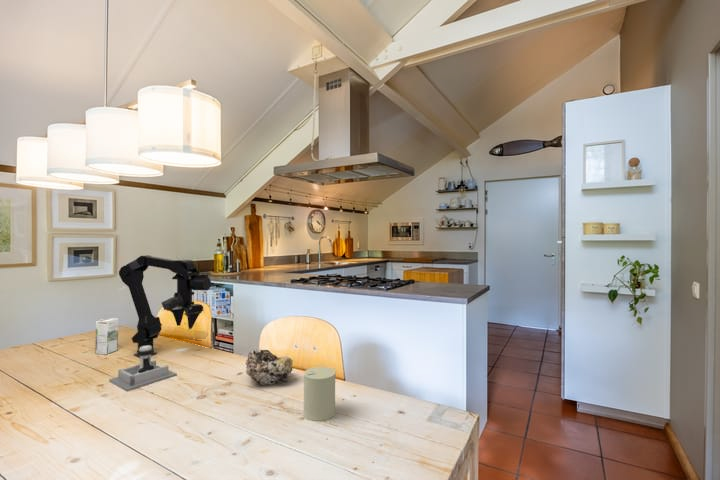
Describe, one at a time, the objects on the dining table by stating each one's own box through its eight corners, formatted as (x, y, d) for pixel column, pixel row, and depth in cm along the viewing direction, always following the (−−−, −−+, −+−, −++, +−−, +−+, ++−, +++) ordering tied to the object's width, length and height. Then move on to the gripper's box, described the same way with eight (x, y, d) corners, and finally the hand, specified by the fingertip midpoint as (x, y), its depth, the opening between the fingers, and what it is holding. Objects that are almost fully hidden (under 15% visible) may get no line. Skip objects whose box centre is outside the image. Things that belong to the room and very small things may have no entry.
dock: (109, 381, 117) (109, 370, 117) (157, 367, 130) (157, 357, 130) (127, 391, 109) (127, 380, 109) (176, 375, 123) (177, 365, 123)
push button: (140, 380, 116) (140, 351, 116) (129, 377, 118) (129, 349, 118) (157, 373, 122) (157, 345, 122) (146, 371, 124) (147, 343, 124)
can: (299, 408, 99) (300, 367, 99) (329, 402, 103) (330, 363, 103) (307, 424, 91) (308, 379, 91) (340, 417, 94) (340, 374, 94)
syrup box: (106, 349, 150) (107, 317, 150) (118, 350, 150) (118, 317, 150) (94, 354, 145) (95, 320, 145) (107, 354, 144) (107, 320, 144)
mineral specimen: (257, 370, 128) (257, 344, 128) (300, 375, 123) (300, 348, 123) (231, 387, 113) (231, 357, 113) (278, 394, 108) (279, 363, 108)
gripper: (153, 290, 141) (153, 327, 141) (176, 294, 130) (176, 335, 130) (180, 287, 150) (180, 322, 150) (204, 291, 139) (203, 329, 139)
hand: (184, 327), depth 142 cm, fingers open, 9 cm apart
